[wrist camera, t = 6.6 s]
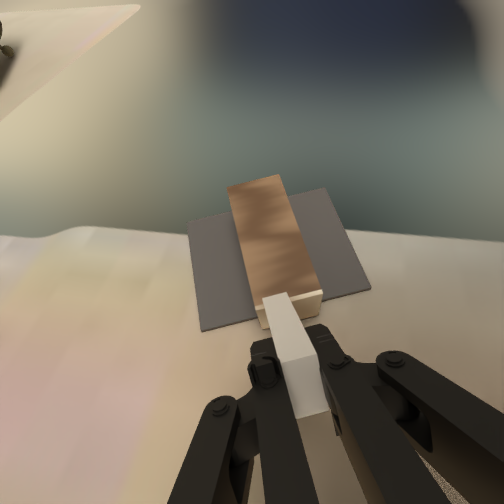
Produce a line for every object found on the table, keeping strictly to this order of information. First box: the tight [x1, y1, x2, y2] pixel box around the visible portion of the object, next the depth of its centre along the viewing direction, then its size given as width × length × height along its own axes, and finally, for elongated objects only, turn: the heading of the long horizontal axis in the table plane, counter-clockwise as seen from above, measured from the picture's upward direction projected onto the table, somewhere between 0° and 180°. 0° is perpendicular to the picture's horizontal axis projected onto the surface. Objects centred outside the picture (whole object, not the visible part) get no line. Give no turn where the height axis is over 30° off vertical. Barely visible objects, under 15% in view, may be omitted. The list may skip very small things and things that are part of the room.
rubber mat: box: [187, 187, 371, 332], centre depth 27 cm, size 14×11×1 cm
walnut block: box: [227, 174, 323, 329], centre depth 24 cm, size 4×4×11 cm
